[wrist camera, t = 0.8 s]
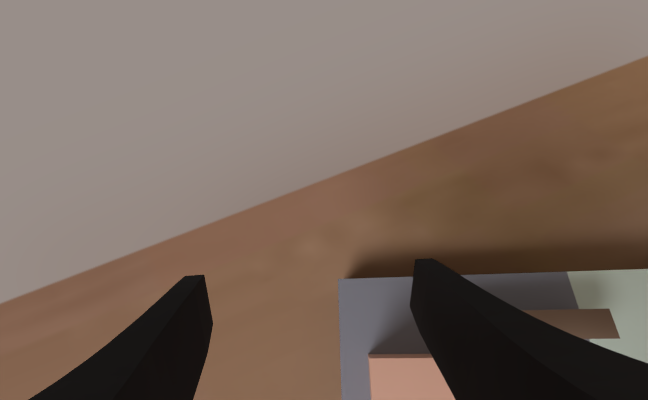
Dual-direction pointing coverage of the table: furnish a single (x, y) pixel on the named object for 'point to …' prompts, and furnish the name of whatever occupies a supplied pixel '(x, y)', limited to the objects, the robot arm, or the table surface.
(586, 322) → the tunnel walls
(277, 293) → the table surface
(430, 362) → the terracotta block
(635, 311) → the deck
